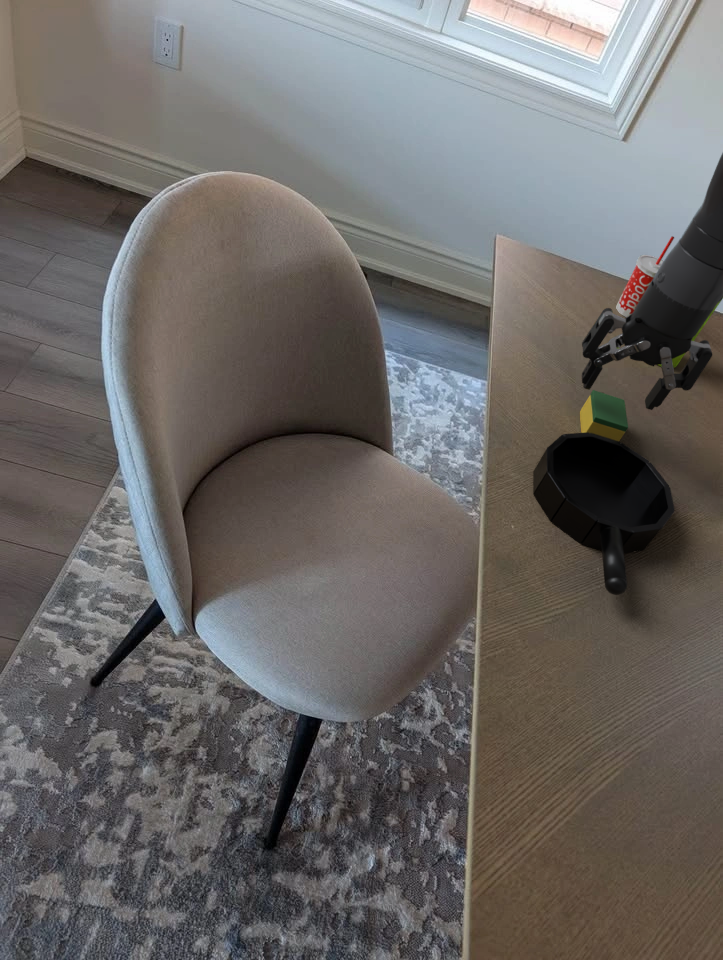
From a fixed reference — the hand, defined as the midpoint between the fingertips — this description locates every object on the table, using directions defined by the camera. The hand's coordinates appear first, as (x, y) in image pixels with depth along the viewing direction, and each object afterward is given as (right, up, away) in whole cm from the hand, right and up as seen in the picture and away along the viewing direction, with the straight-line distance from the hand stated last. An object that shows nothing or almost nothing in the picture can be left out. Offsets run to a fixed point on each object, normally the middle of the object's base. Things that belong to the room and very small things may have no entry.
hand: (616, 395), depth 97 cm
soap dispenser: (+14, +8, +22) cm, 28 cm away
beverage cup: (+12, +17, +31) cm, 37 cm away
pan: (-6, -16, -9) cm, 20 cm away
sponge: (-1, -4, +4) cm, 6 cm away
